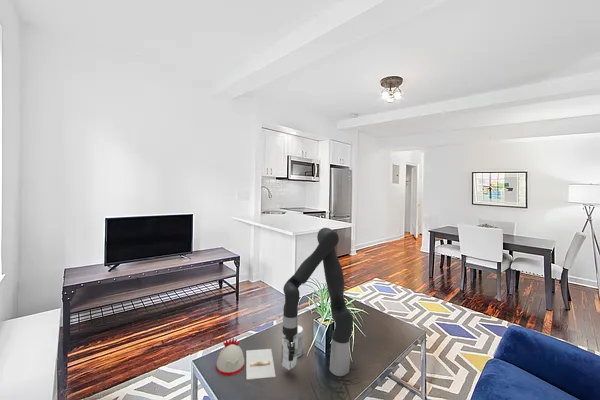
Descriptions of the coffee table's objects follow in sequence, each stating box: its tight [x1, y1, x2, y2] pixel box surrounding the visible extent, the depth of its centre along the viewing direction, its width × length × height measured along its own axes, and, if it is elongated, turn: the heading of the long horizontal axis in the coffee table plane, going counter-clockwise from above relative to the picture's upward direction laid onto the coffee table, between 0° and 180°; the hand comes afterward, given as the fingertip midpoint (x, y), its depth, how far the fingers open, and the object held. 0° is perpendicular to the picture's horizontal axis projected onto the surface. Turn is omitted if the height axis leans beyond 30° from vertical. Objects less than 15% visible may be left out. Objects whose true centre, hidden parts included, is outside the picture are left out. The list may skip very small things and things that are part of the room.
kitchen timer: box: [216, 337, 245, 377], centre depth 138 cm, size 14×14×15 cm
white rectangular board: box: [245, 348, 277, 381], centre depth 141 cm, size 14×22×1 cm, turn 12°
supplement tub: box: [295, 324, 304, 359], centre depth 151 cm, size 10×10×15 cm
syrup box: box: [280, 335, 298, 371], centre depth 134 cm, size 6×6×14 cm
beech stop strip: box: [250, 361, 270, 367], centre depth 140 cm, size 10×2×1 cm, turn 102°
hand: (289, 355), depth 134 cm, fingers closed on syrup box, 7 cm apart
